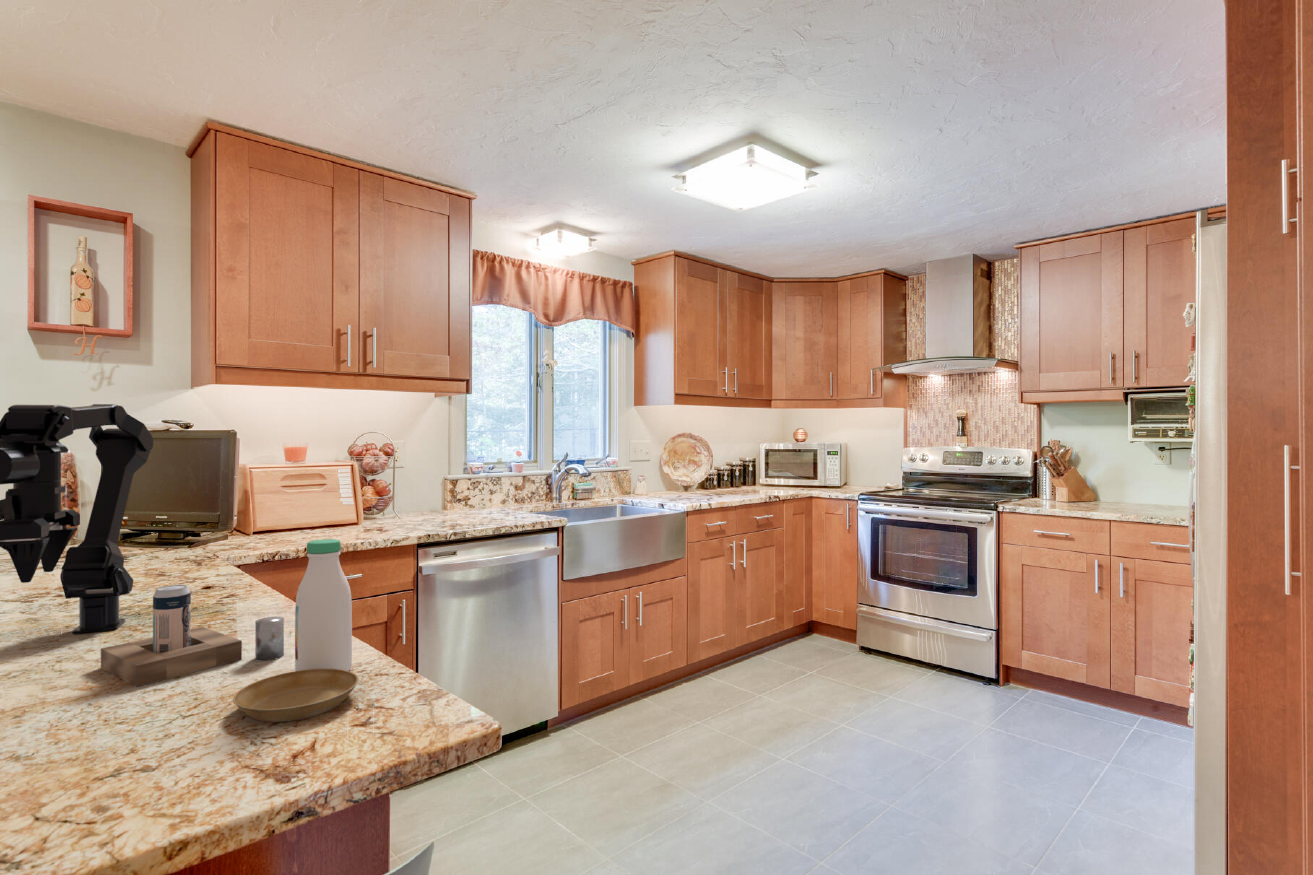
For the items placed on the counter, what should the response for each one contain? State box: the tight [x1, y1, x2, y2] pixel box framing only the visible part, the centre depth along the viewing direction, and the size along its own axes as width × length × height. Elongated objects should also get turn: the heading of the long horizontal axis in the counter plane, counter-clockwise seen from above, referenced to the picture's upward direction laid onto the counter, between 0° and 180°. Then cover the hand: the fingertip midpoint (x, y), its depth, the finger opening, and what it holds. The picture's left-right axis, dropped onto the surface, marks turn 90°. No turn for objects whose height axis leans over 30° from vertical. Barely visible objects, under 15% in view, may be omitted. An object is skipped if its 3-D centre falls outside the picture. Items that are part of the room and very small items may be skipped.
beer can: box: [152, 584, 192, 654], centre depth 104 cm, size 5×5×12 cm
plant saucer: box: [232, 669, 360, 723], centre depth 88 cm, size 15×15×3 cm
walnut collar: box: [100, 626, 243, 687], centre depth 104 cm, size 14×14×3 cm
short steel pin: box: [254, 616, 285, 662], centre depth 108 cm, size 4×4×6 cm
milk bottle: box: [294, 538, 353, 671], centre depth 100 cm, size 8×8×20 cm
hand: (37, 576), depth 108 cm, fingers open, 9 cm apart
